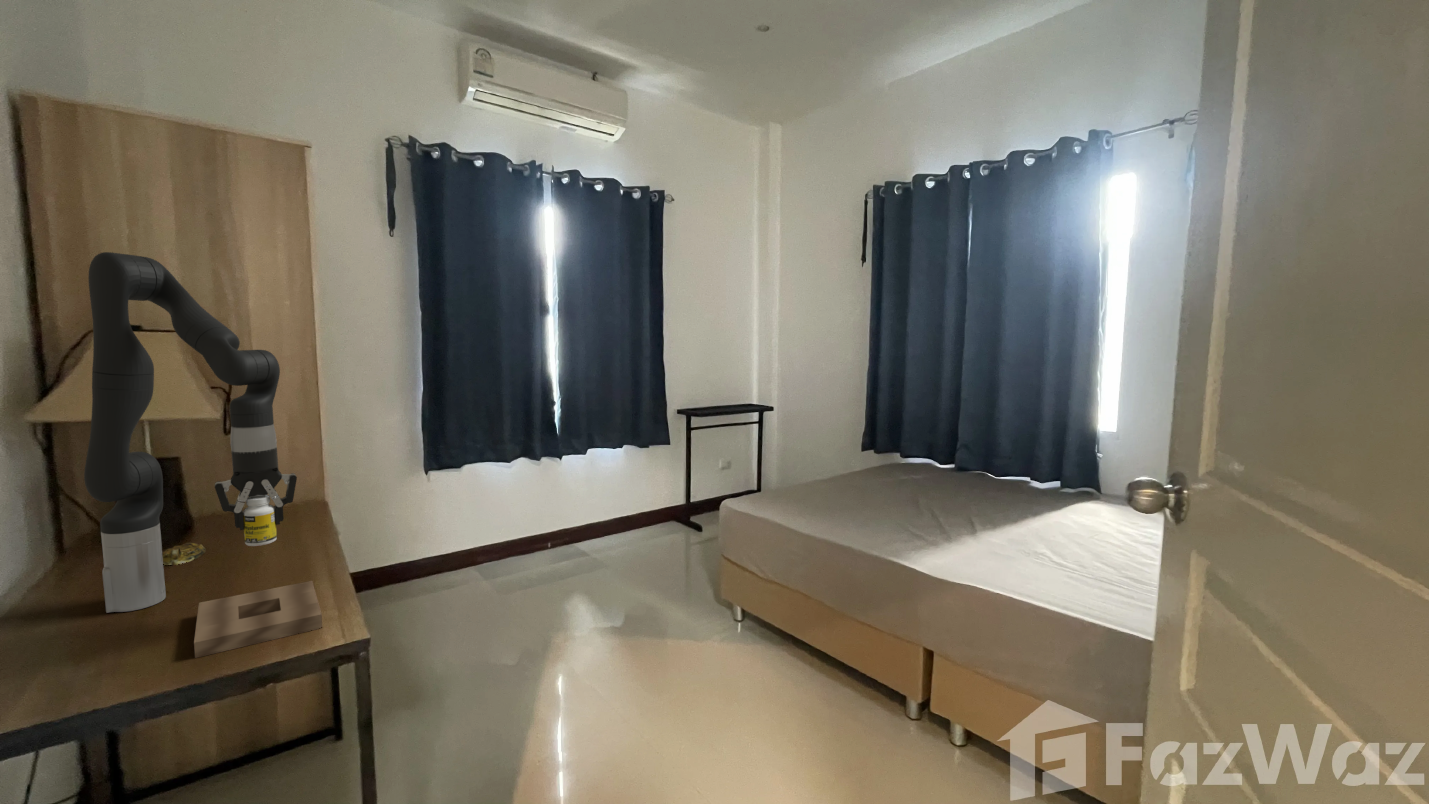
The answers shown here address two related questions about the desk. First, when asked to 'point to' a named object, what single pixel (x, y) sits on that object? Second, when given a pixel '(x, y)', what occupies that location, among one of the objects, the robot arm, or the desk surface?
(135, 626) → the desk surface
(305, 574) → the desk surface
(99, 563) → the desk surface
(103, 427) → the robot arm
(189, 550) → the noodle cake
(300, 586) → the socket board
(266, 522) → the supplement bottle
